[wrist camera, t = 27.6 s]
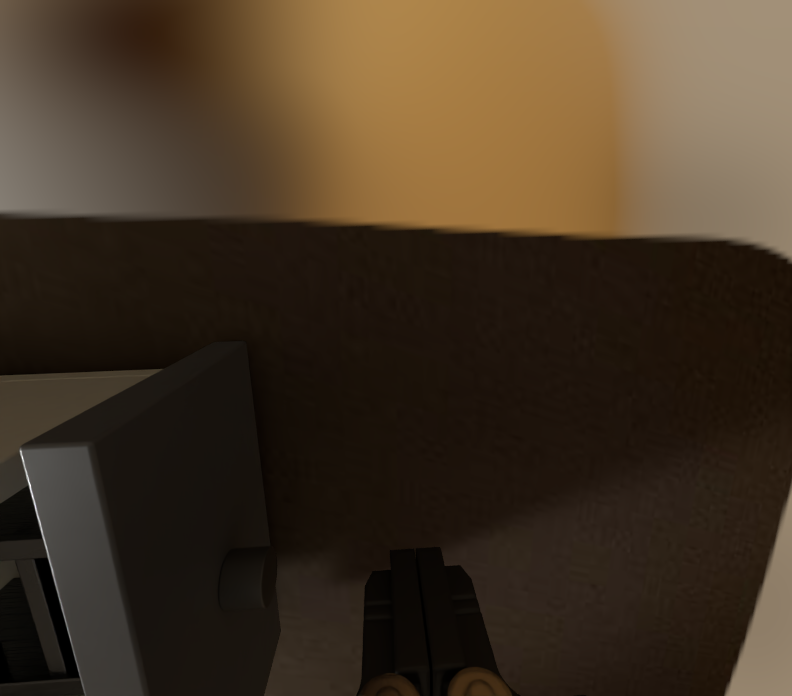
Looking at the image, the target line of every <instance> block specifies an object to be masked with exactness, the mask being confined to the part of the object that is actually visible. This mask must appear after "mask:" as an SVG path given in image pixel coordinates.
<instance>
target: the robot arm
mask: <svg viewBox="0 0 792 696" xmlns="http://www.w3.org/2000/svg"><path fill="white" fill-rule="evenodd" d="M390 564H391V570H382V571H372V573H371V575H370V577H369V579H368V581H367V583H366V585H365V598H364V627H363V656H362V679H361V684H360V688H359V691H358V693H357V695H356V696H520V695H519V694H517V693H516V692H515V691H513V690H512V689H511V688H510V687H509V686H508V685H507V684H506V682H505V681H504V680H503V678H502V677H501V675H500V673H499V671H498V668H497V665H496V662H495V658H494V655H493V652H492V648H491V645H490V641H489V638H488V635H487V631H486V628H485V624H484V621H483V617H482V614H481V612H480V607H479V604H478V600H477V599H476V594H475V590H474V587H473V583H472V580H471V578H470V577H469V576H468V574H467V573H466V572H465V571H464V570H463V568H462V567H461V566H460V565H457V566H444V561H443V556H442V552H441V548H440V547H431V548H416V559H415V552H414V549H401V550H390ZM576 696H586V695H576Z"/></svg>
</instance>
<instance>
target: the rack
mask: <svg viewBox="0 0 792 696" xmlns="http://www.w3.org/2000/svg"><path fill="white" fill-rule="evenodd" d="M10 560H15V563H16V566H17V569H18V573H19V576H20V577H16V578H13V579H12V580H10V581H9V582H8V583H7V584H6V585H5V586H4V587H3V588H1V589H0V696H74V695H85V694H84V690H83V687H82V683H81V679H80V676H79V672H78V668H77V664H76V661H75V657H74V653H73V649H72V646H71V642H70V638H69V635H68V631H67V627H66V623H65V620H64V616H63V612H62V608H61V605H60V601H59V597H58V594H57V590H56V586H55V582H54V579H53V575H52V571H51V567H50V564H49V560H48V556H47V553H46V549H45V545H44V541H43V538H42V534H41V530H40V527H39V523H38V519H37V515H36V512H35V508H34V504H33V500H32V497H31V493H30V489H29V486H26V487H25V488H23V489H22V490H20V491H19V492H17V493H16V494H14V495H13V496H11V497H10V498H8V499H7V500H5V501H3V502H2V503H0V561H10Z"/></svg>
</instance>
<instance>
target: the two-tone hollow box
mask: <svg viewBox="0 0 792 696" xmlns="http://www.w3.org/2000/svg"><path fill="white" fill-rule="evenodd" d="M26 486H29V489H30V493H31V497H32V500H33V504H34V508H35V512H36V515H37V519H38V523H39V527H40V530H41V534H42V538H43V541H44V545H45V549H46V553H47V556H48V560H49V564H50V567H51V571H52V575H53V579H54V582H55V586H56V590H57V594H58V597H59V601H60V605H61V608H62V612H63V616H64V620H65V623H66V627H67V631H68V635H69V638H70V642H71V646H72V649H73V653H74V657H75V661H76V664H77V668H78V672H79V676H80V679H81V683H82V687H83V690H84V694H85V695H74V696H264V693H265V689H266V686H267V682H268V678H269V674H270V670H271V666H272V663H273V659H274V655H275V651H276V647H277V643H278V640H279V636H280V632H281V629H280V621H279V612H278V604H277V595H276V587H275V585H276V576H277V558H276V553H275V549H274V548H273V547H272V546H271V545H270V537H269V528H268V520H267V512H266V503H265V495H264V487H263V478H262V470H261V461H260V453H259V445H258V436H257V428H256V420H255V411H254V403H253V394H252V386H251V378H250V369H249V361H248V353H247V344H246V342H245V341H231V342H213V343H211V344H209V345H208V346H206V347H204V348H202V349H200V350H198V351H196V352H194V353H193V354H191V355H189V356H187V357H185V358H183V359H181V360H179V361H178V362H176V363H174V364H172V365H170V366H168V367H166V368H164V369H150V370H126V371H101V372H77V373H52V374H28V375H4V376H0V503H2V502H3V501H5V500H7V499H8V498H10V497H11V496H13V495H14V494H16V493H17V492H19V491H20V490H22V489H23V488H25V487H26ZM16 577H20V576H19V573H18V569H17V566H16V563H15V560H10V561H0V589H1V588H3V587H4V586H5V585H6V584H7V583H8V582H9V581H10V580H12V579H13V578H16Z"/></svg>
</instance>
